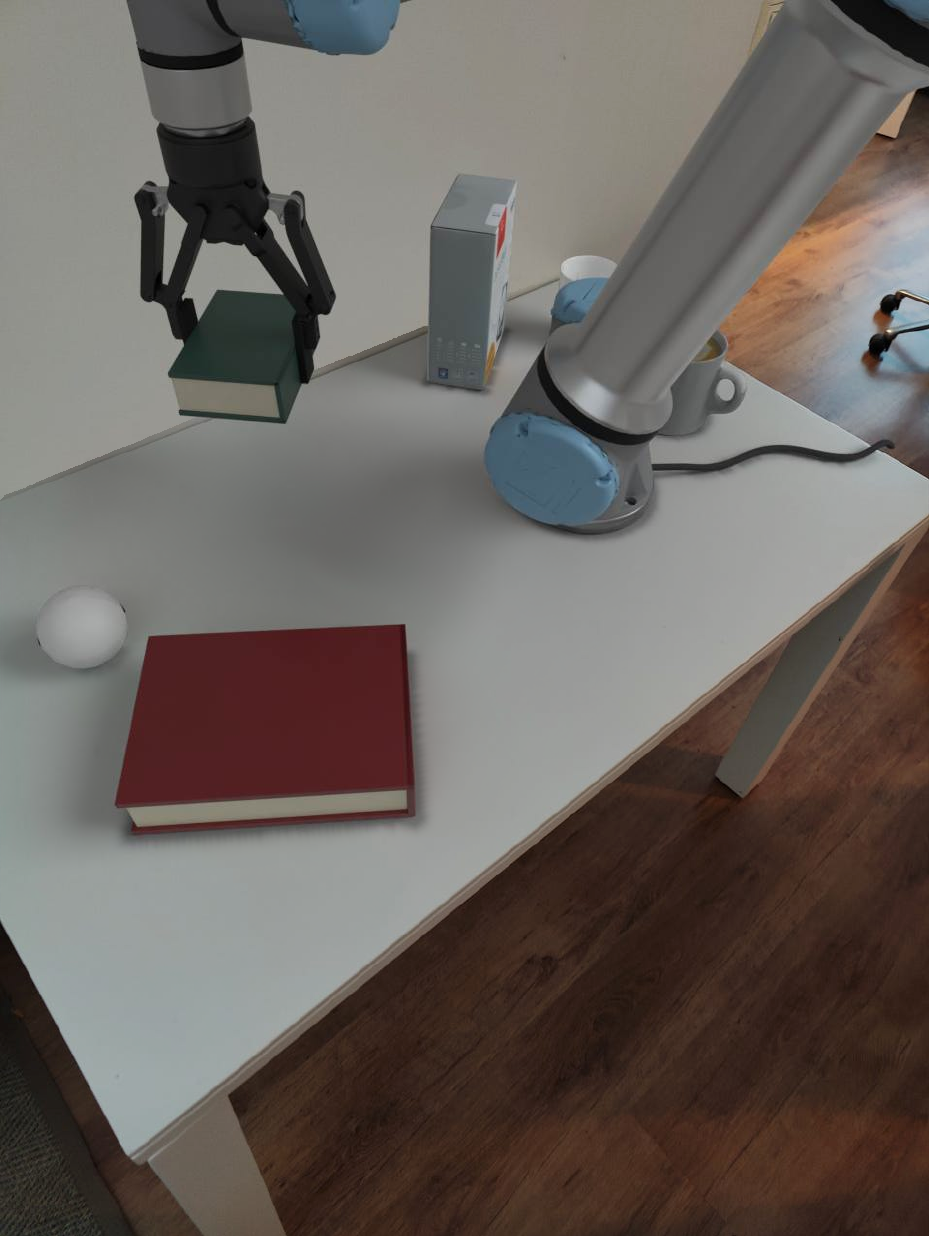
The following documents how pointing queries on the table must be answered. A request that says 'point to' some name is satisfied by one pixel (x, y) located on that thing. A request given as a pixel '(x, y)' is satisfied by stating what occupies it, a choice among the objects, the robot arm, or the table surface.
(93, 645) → the white smooth round ovoid
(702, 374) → the coffee mug
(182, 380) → the small book
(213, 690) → the big book
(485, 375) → the hard drive box
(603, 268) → the white cup
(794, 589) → the table surface
